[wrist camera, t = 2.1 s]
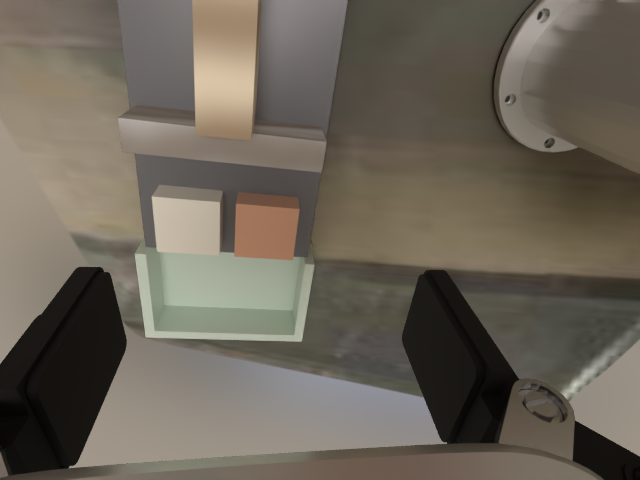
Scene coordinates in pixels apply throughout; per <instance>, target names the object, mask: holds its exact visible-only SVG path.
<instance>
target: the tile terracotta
mask: <svg viewBox="0 0 640 480" xmlns="http://www.w3.org/2000/svg"><path fill="white" fill-rule="evenodd" d="M299 210H300V208H299V199H298V197H289V196H278V195H267V194H256V193H245V192H238V197H237V201H236V219H235V250H234V257H248V258H264V259H280V260H293V256H294V248H295V241H296V233H297V226H298V218H299Z"/></svg>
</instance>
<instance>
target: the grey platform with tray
mask: <svg viewBox="0 0 640 480" xmlns="http://www.w3.org/2000/svg"><path fill="white" fill-rule="evenodd" d="M117 1H118V10H119V18H120V27H121V36H122V45H123V54H124V62H125V71H126V80H127V89H128V97H129V106H130V109H131V108H133V107H134V106H136V105H137V104H138V105H147V106H155V107H163V108H171V109H179V110H187V111H195V86H194V48H193V10H192V0H117ZM347 2H348V0H262V9H261V27H260V45H259V63H258V81H257V100H256V118H255V119H261V120H269V121H277V122H285V123H293V124H301V125H310V126H318V127H321V128H322V131H323V134H324V136H325V139H326V137H327V131H328V124H329V118H330V111H331V105H332V99H333V92H334V86H335V79H336V73H337V66H338V60H339V53H340V47H341V41H342V34H343V28H344V21H345V15H346V8H347ZM135 159H136V168H137V176H138V185H139V194H140V203H141V212H142V220H143V229H144V239H143V240H142V242H141V244H140V246H139V247H138V249H137V251H136V252H135V259H136V267H137V274H138V282H139V289H140V297H141V304H142V312H143V319H144V327H145V334H146V337H151V338H188V339H224V340H261V341H297V342H302V336H303V331H304V325H305V319H306V313H307V307H308V301H309V295H310V289H311V283H312V277H313V271H314V265H315V264H314V257H313V251H312V244H311V234H312V227H313V221H314V214H315V208H316V201H317V195H318V189H319V182H320V176H321V172H311V171H301V170H292V169H282V168H272V167H262V166H253V165H243V164H233V163H223V162H214V161H204V160H194V159H184V158H175V157H165V156H155V155H145V154H136V153H135ZM159 185H168V186H179V187H190V188H201V189H212V190H223V243H222V247H221V251H220V256H217V255H201V254H185V253H169V252H157V247H156V236H155V226H154V216H153V205H152V195H153V194H154V192H155V191H156V189H157V188H158V186H159ZM238 192H245V193H256V194H267V195H278V196H289V197H298V199H299V208H300V210H299V218H298V226H297V233H296V241H295V248H294V256H293V260H280V259H264V258H248V257H234V250H235V219H236V201H237V197H238Z"/></svg>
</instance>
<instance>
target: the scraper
mask: <svg viewBox="0 0 640 480" xmlns="http://www.w3.org/2000/svg"><path fill="white" fill-rule="evenodd" d="M261 9H262V0H192V10H193V48H194V86H195V111H187V110H179V109H171V108H163V107H155V106H147V105H138V104H137V105H136V106H134V107H133V108H131V109H130V110H128V111H127V112H126V113H124V114H123V115H121V116H120V117H118V123H119V131H120V138H121V146H122V152H126V153H136V154H145V155H155V156H165V157H175V158H184V159H194V160H204V161H214V162H223V163H233V164H243V165H253V166H262V167H272V168H282V169H292V170H301V171H311V172H321V173H322V169H323V163H324V156H325V150H326V143H327V141H326V139H325V136H324V134H323V131H322V128H321V127H318V126H310V125H301V124H293V123H285V122H277V121H269V120H261V119H255V118H256V100H257V81H258V63H259V45H260V27H261Z"/></svg>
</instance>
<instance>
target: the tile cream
mask: <svg viewBox="0 0 640 480" xmlns="http://www.w3.org/2000/svg"><path fill="white" fill-rule="evenodd" d="M152 205H153V216H154V226H155V236H156V247H157V252H169V253H185V254H201V255H217V256H220V251H221V247H222V243H223V190H212V189H201V188H190V187H179V186H168V185H159V186H158V188H157V189H156V191H155V192H154V194H153V195H152Z"/></svg>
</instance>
